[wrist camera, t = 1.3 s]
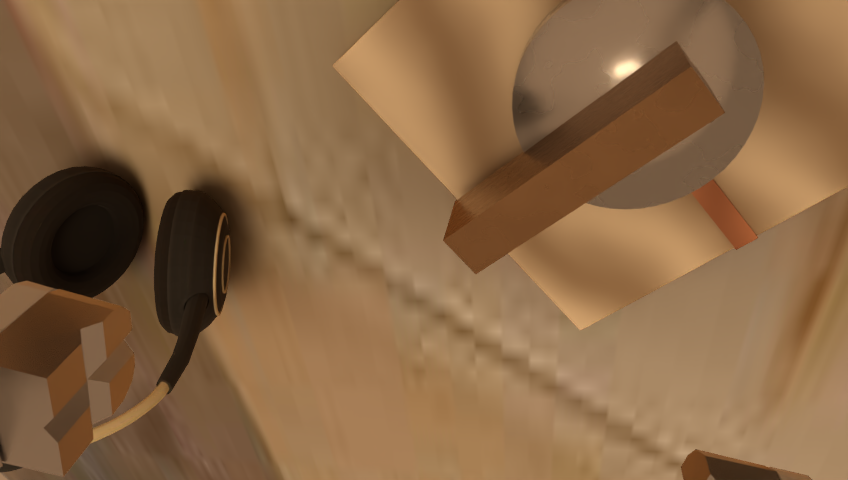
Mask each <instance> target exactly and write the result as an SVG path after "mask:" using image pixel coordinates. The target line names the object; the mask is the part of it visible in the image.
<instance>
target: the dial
mask: <svg viewBox="0 0 848 480" xmlns="http://www.w3.org/2000/svg"><path fill="white" fill-rule="evenodd" d="M763 90H764V71H763V64H762V59H761V54H760V51H759V48H758V45H757V43H756V40H755V38H754V36H753V34H752V32H751V31H750V29H749V27H748V25H747V24H746V22H745V21H744V20H743V19H742V17H741V16H740V15H739V14H738V13H737V11H736V10H735V9H734V8H733V7H732V6H731V5H730V4H728V3H727V2H726V1H725V0H563V1H562V2H560V3H559V4H558V5H557V6H556V7H555V8H554V9H553V10H552V11H551V12H550V13H549V14H547V16H546V17H545V18H544V19H543V20H542V22H541V23H540V24H539V25H538V27H537V28H536V29H535V31H534V33H533V34H532V36H531V37H530V39H529V40H528V42H527V45H526V47H525V49H524V51H523V53H522V55H521V59H520V62H519V65H518V68H517V72H516V77H515V83H514V88H513V97H512V112H513V122H514V126H515V131H516V135H517V138H518V140H519V143H520V145H521V148H522V150H523V152H522V153H521V154H519V155H518V156H516V157H515V158H514V159H512V160H511V161H510V162H508V163H507V164H505V165H504V166H503V167H501V168H500V169H499V170H497V171H496V172H495V173H493V174H492V175H490V176H489V177H488V178H486V179H485V180H484V181H482V182H481V183H480V184H478V185H477V186H475V187H474V188H473V189H471V190H470V191H469V192H467V193H466V194H465V195H463V196H462V197H460V198H459V199H458V200H456V201H455V203H454V206H453V210H452V213H451V216H450V220H449V223H448V226H447V230H446V233H445V236H444V239H443V241H444V242H445V243H446V244H447V245H448V246H449V247H450V248H451V249H452V250H453V251H454V252H455V253H456V254H457V255H458V256H459V257H460V258H461V259H462V260H463V261H464V262H465V263H466V264H467V265H468V267H469V268H470V269H471V270H472V271H473V272H474V273H475V274H477V273H478V272H480V271H481V270H483V269H485V268H486V267H488V266H489V265H491V264H492V263H494V262H495V261H497V260H498V259H500V258H502V257H503V256H505V255H506V254H508V253H509V252H511V251H512V250H514V249H515V248H517V247H519V246H520V245H522V244H523V243H525V242H526V241H528V240H529V239H531V238H532V237H534V236H536V235H537V234H539V233H540V232H542V231H543V230H545V229H546V228H548V227H549V226H551V225H553V224H554V223H556V222H557V221H559V220H560V219H562V218H563V217H565V216H566V215H568V214H570V213H571V212H573V211H574V210H576V209H577V208H579V207H580V206H582V205H583V204H585V203H587V204H591V205H594V206H598V207H604V208H610V209H641V208H647V207H653V206H657V205H661V204H665V203H668V202H671V201H674V200H676V199H679V198H681V197H684V196H686V195H688V194H690V193H692V192H694V191H695V190H697V189H699V188H701V187H702V186H704V185H705V184H707V183H708V182H710V181H711V180H712V179H714V178H715V177H716V176H717V175H718V174H719V173H721V172H722V171H723V170H724V169H725V168H726V167H727V166H728V165H729V164H730V163H731V162H732V161H733V159H734V158H735V157H736V156H737V155H738V153H739V152H740V150H741V149H742V148H743V146H744V145H745V143H746V142H747V140H748V138H749V136H750V134H751V133H752V131H753V128H754V126H755V123H756V121H757V118H758V116H759V112H760V108H761V104H762V100H763Z"/></svg>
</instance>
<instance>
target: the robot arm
mask: <svg viewBox="0 0 848 480" xmlns="http://www.w3.org/2000/svg"><path fill="white" fill-rule="evenodd" d="M131 331H132V321H131V313H130V311H129V310H127V309H126V308H124V307H123V306H119V305H116V304H112V303H108V302H105V301H101V300H97V299H94V298H90V297H87V296H83V295H79V294H76V293H72V292H68V291H65V290H61V289H54V288H51V287H47V286H44V285H40V284H37V283H33V282H30V281H23V282H19V283H15V284H13V285H12V286H10V287H9V288H8V289H7V290H5V291H4V292H3V293H1V294H0V467H2V463H6V464H10V465H15V466H19V467H23V468H28V469H32V470H36V471H41V472H45V473H49V474H53V475H58V476H62V477H64V476H65V474H66V473H67V472H68V471H69V469H70V468H71V467H72V466H73V464H74V463H75V462H76V461H77V459H78V458H79V457H80V456H81V454H82V453H83V452H84V451H85V449H86V448H87V447H88V446H89V444H90V443H91V442H92V441H93V425H92V424H95V423H97V422H99V421H101V420H103V419H105V418H108V417H110V416H112V415H113V414H114V412H115V411H116V410H117V408H118V407H119V406H120V404H121V403H122V402H123V400H124V399H125V396H126V394H127V392H128V390H129V387H130V385H131V383H132V380H133V374H134V368H135V358H134V352H133V351H132V349H131V348H130V347H129V345H128V344H127V343H126V341H125V340H124V339H125V337H126V336H127V335H128V334H129V333H130V332H131ZM681 470H682V475H683V479H684V480H812V479H811V478H810V477H809V476H807V475H803V474H799V473H794V472H790V471H786V470H782V469H777V468H773V467H766V466H763V465H759V464H755V463H751V462H747V461H743V460H738V459H734V458H730V457H726V456H722V455H718V454H714V453H709V452H705V451H701V450H697V449H696V450H694V451H693V452H692V453H690V454H689V455H688V456H687V458H686V459H685V461H684V463H683V464H682V466H681Z"/></svg>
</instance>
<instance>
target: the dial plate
mask: <svg viewBox="0 0 848 480" xmlns="http://www.w3.org/2000/svg"><path fill="white" fill-rule="evenodd" d="M562 1H563V0H399V1H398V2H397V3H396V4H395V5H394V6H393V7H392V8H391V9H390V10H389V11H388V12H387V13H386V14H385V15H384V16H383V17H382V18H381V19H379V20H378V21H377V22H376V23H375V24H374V25H373V26H372V27H371V28H370V29H369V30H368V31H367V32H366V33H365V34H364V35H363V36H362V37H361V38H360V39H359V40H358V41H357V42H356V43H355V44H354V45H353V46H352V47H351V48H350V49H349V50H348V51H347V52H346V53H345V54H344V55H343V56H342V57H341V58H340V59H339V60H338V61H337V62H336V63H335V64H334V65H333V67H334V68H335V69H336V70H337V71H338V73H339V74H340V75H341V76H342V77H343V78H344V79H345V80H346V81H347V82H348V83H349V84H350V85H351V86H352V87H353V89H354V90H355V91H356V92H357V93H358V94H359V95H360V96H361V97H362V98H363V99H364V100H365V101H366V102H367V103H368V105H369V106H370V107H371V108H372V109H373V110H374V111H375V112H376V113H377V114H378V115H379V116H380V117H381V118H382V119H383V121H384V122H385V123H386V124H387V125H388V126H389V127H390V128H391V129H392V130H393V131H394V132H395V133H396V134H397V135H398V137H399V138H400V139H401V140H402V141H403V142H404V143H405V144H406V145H407V146H408V147H409V148H410V149H411V150H412V152H413V153H414V154H415V155H416V156H417V157H418V158H419V159H420V160H421V161H422V162H423V163H424V164H425V165H426V166H427V168H428V169H429V170H430V171H431V172H432V173H433V174H434V175H435V176H436V177H437V178H438V179H439V180H440V181H441V182H442V184H443V185H444V186H445V187H446V188H447V189H448V190H449V191H450V192H451V193H452V194H453V195H454V196H455V197H456V198H457V200H458V199H459V198H460V197H462V196H463V195H465V194H466V193H467V192H469V191H470V190H471V189H473V188H474V187H475V186H477V185H478V184H480V183H481V182H482V181H484V180H485V179H486V178H488V177H489V176H490V175H492V174H493V173H495V172H496V171H497V170H499V169H500V168H501V167H503V166H504V165H505V164H507V163H508V162H510V161H511V160H512V159H514V158H515V157H516V156H518V155H519V154H521V153H522V152H523V150H522V148H521V145H520V143H519V140H518V138H517V135H516V131H515V126H514V122H513V112H512V97H513V88H514V83H515V77H516V72H517V68H518V65H519V62H520V59H521V55H522V53H523V51H524V49H525V47H526V45H527V42H528V40H529V39H530V37H531V36H532V34H533V33H534V31H535V29H536V28H537V27H538V25H539V24H540V23H541V22H542V20H543V19H544V18H545V17H546V16H547V14H549V13H550V12H551V11H552V10H553V9H554V8H555V7H556V6H557V5H558V4H559V3H560V2H562ZM725 1H726V2H727V3H728V4H730V5H731V6H732V7H733V8H734V9H735V10H736V11H737V13H738V14H739V15H740V16H741V17H742V19H743V20H744V21H745V22H746V24H747V25H748V27H749V29H750V31H751V32H752V34H753V36H754V38H755V40H756V43H757V45H758V48H759V51H760V54H761V59H762V64H763V71H764V90H763V100H762V104H761V108H760V112H759V116H758V118H757V121H756V123H755V126H754V128H753V131H752V133H751V134H750V136H749V138H748V140H747V142H746V143H745V145H744V146H743V148H742V149H741V150H740V152H739V153H738V155H737V156H736V157H735V158H734V159H733V161H732V162H731V163H730V164H729V165H728V166H727V167H726V168H725V169H724V170H723V171H722V172H721V173H719V174H718V175H717V176H716V177H715V178H714V179H712V180H711V181H710V182H708V183H707V184H705V185H704V186H702V187H701V188H699V189H697V190H695V191H694V192H692V193H690V194H688V195H686V196H684V197H681V198H679V199H676V200H674V201H671V202H668V203H665V204H661V205H657V206H653V207H647V208H641V209H610V208H604V207H598V206H594V205H591V204H587V203H585V204H583V205H582V206H580V207H579V208H577V209H576V210H574V211H573V212H571V213H570V214H568V215H566V216H565V217H563V218H562V219H560V220H559V221H557V222H556V223H554V224H553V225H551V226H549V227H548V228H546V229H545V230H543V231H542V232H540V233H539V234H537V235H536V236H534V237H532V238H531V239H529V240H528V241H526V242H525V243H523V244H522V245H520V246H519V247H517V248H515V249H514V250H512V251H511V252H509V253H508V254H509V255H510V256H511V257H512V258H513V259H514V260H515V261H516V263H517V264H518V265H519V266H520V267H521V268H522V269H523V270H524V271H525V272H526V273H527V274H528V275H529V276H530V277H531V279H532V280H533V281H534V282H535V283H536V284H537V285H538V286H539V287H540V288H541V289H542V290H543V291H544V292H545V293H546V295H547V296H548V297H549V298H550V299H551V300H552V301H553V302H554V303H555V304H556V305H557V306H558V307H559V308H560V310H561V311H562V312H563V313H564V314H565V315H566V316H567V317H568V318H569V319H570V320H571V321H572V322H573V323H574V324H575V326H576V327H577V328H578V329H579V330H582V329H584V328H586V327H588V326H590V325H591V324H593V323H595V322H597V321H599V320H601V319H603V318H604V317H606V316H608V315H610V314H612V313H614V312H616V311H617V310H619V309H621V308H623V307H625V306H627V305H629V304H630V303H632V302H634V301H636V300H638V299H640V298H642V297H643V296H645V295H647V294H649V293H651V292H653V291H655V290H656V289H658V288H660V287H662V286H664V285H666V284H668V283H669V282H671V281H673V280H675V279H677V278H679V277H681V276H682V275H684V274H686V273H688V272H690V271H692V270H694V269H695V268H697V267H699V266H701V265H703V264H705V263H707V262H708V261H710V260H712V259H714V258H716V257H718V256H720V255H721V254H723V253H725V252H727V251H729V250H731V249H733V248H735V249H738V248H740V247H742V246H744V245H746V244H748V243H750V242H751V241H753V240H755V239H757V238H758V237H757V235H759V234H760V233H762V232H764V231H766V230H768V229H770V228H772V227H773V226H775V225H777V224H779V223H781V222H783V221H785V220H787V219H788V218H790V217H792V216H794V215H796V214H798V213H800V212H801V211H803V210H805V209H807V208H809V207H811V206H813V205H814V204H816V203H818V202H820V201H822V200H824V199H826V198H827V197H829V196H831V195H833V194H835V193H837V192H839V191H840V190H842V189H844V188H846V187H848V0H725Z"/></svg>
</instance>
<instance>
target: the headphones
mask: <svg viewBox="0 0 848 480" xmlns="http://www.w3.org/2000/svg"><path fill="white" fill-rule="evenodd" d="M143 223H144V219H143V210H142V206H141V203H140V200H139V198H138V196H137V194H136V193H135V192H134V190H133V189H132V188H131V186H130V185H129V184H128V183H127V182H126V181H125V180H123V179H122V178H121V177H119V176H117V175H115V174H113V173H110V172H108V171H105V170H103V169H99V168H93V167H85V166H84V167H72V168H68V169H64V170H61V171H58V172H56V173H54V174H52V175H50V176H47V177H46V178H44V179H43V180H41V181H40V182H38V183H37V184H36V185H34V186H33V187H32V188H31V189H30V190H29V191H28V192H27V193H26V194H25V195H24V196H23V197H22V198H21V199H20V200H19V202H18V203H17V204H16V206H15V207H14V208H13V210H12V212H11V214H10V216H9V218H8V220H7V223H6V226H5V229H4V233H3V236H2V244H1V248H0V274H1V273H4V272H5V273H6V275H7V276H8V277H9V278H10V280H11V281H12V282H13V284H15V283H19V282H23V281H30V282H33V283H37V284H40V285H44V286H47V287H51V288H54V289H61V290H65V291H68V292H72V293H76V294H79V295H83V296H87V297H90V298H92V297H94V296H96V295H98V294H100V293H101V292H103V291H104V290H106V289H107V288H108V287H110V286H111V285H112V284H113V283H114V282H116V281H117V280H118V279H119V278H120V277H121V275H122V274H123V273H124V272H125V271H126V269H127V268H128V267H129V265H130V264H131V262H132V260H133V259H134V257H135V255H136V253H137V250H138V248H139V245H140V242H141V238H142V233H143ZM230 255H231V247H230V231H229V226H228V219H227V215H226V214H225V213H223V212H222V210H221V209H220V207H219V206H218V205H217V203H216V202H215V201H214V200H213V199H212V198H211V197H210V196H208V195H207V194H206V193H204V192H201V191H193V190H184V191H183V192H178V193H175V194H174V195H173V196H172V197H171V198H170V199H169V200H168V201H167V203H166V205H165V208H164V210H163V214H162V217H161V222H160V226H159V231H158V236H157V243H156V251H155V266H154V291H155V303H156V311H157V316H158V319H159V322H160V324H161V325H162V327H163V328H164V329H165V330H166V331H167V332H169V333H172V334H175V335H176V336H178V340H177V343H176V346H175V349H174V351H173V354H172V356H171V358H170V360H169V362H168V363H167V365H166V367H165V369H164V371H163V373H162V374H161V376H160V378H159V380H158V382H157V387H156V388H155V389H154V390H153V392H152V393H151V394H150V395H149V396H147V397H146V398H145V399H144V400H143V401H141V402H140V403H138V404H137V405H136V406H134V407H133V408H131V409H130V410H128V411H126V412H125V413H123V414H122V415H120V416H118V417H116V418H114V419H112V420H110V421H108V422H106V423H104V424H102V425H100V426H97V427H95V428H93V441H92V442H95V441H97V440H100V439H102V438H104V437H106V436H109V435H111V434H113V433H115V432H116V431H118V430H120V429H122V428H124V427H126V426H127V425H129V424H131V423H132V422H134V421H136V420H137V419H138V418H140V417H141V416H143V415H144V414H146V413H147V412H148V411H149V410H150V409H152V408H153V407H154V406H155V405H156V404H157V403H159V402H160V401H161V400H162V399H163V398H164V397H165V395H166V394H169V393H170V392H171V391H172V389H173V388H174V386H175V384H176V383H177V381H178V379H179V378H180V376H181V374H182V373H183V371H184V370H185V368H186V366H187V365H188V363H189V360H190V358H191V355H192V352H193V349H194V346H195V344H196V341H197V338H198V335H199V333H200V332H201V331H202V330H204V329H205V328H206V327H208V326H209V325H210V324H211V323H212V321H213V320H214V319H215V318H216V317H217V316H219V315H220V314H221V312H222V309H223V305H224V301H225V298H226V293H227V288H228V282H229V273H230ZM92 442H91V443H92ZM20 468H23V467H19V466H15V465H10V464H6V463H2V467H0V472H8V471H13V470H16V469H20Z"/></svg>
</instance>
